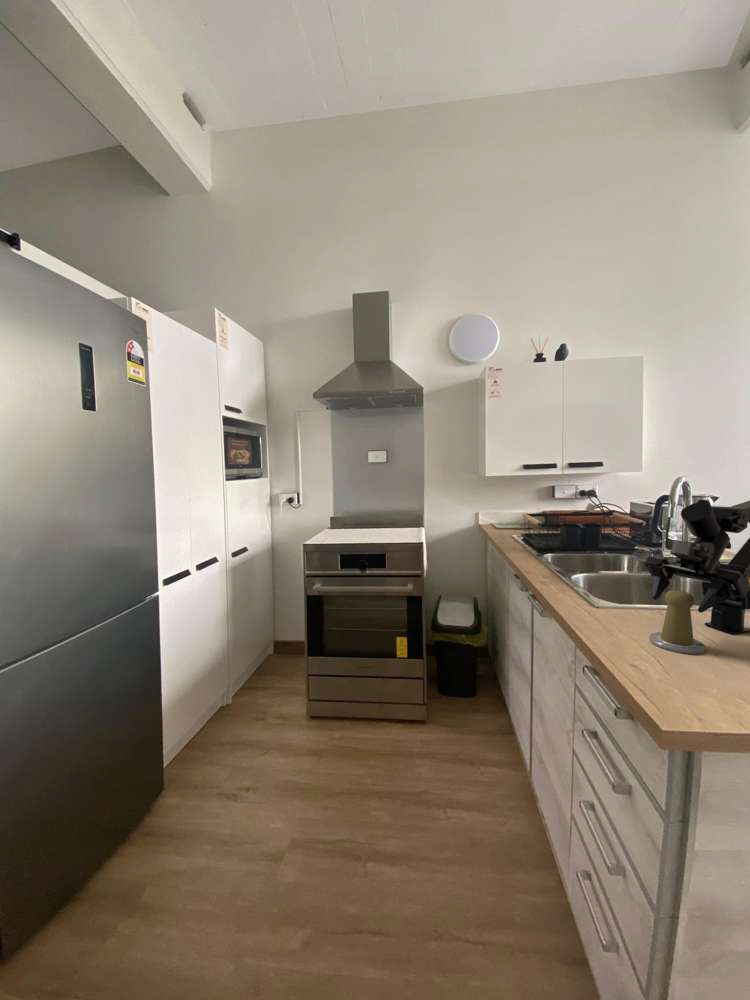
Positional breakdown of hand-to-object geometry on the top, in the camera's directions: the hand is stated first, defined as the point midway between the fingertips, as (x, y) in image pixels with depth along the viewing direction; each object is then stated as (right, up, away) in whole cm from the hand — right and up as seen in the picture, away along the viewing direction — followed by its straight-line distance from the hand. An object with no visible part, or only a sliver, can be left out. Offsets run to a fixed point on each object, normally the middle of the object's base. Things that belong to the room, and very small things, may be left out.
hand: (675, 604), depth 93 cm
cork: (+1, -8, +1) cm, 8 cm away
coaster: (+1, -9, +1) cm, 9 cm away
